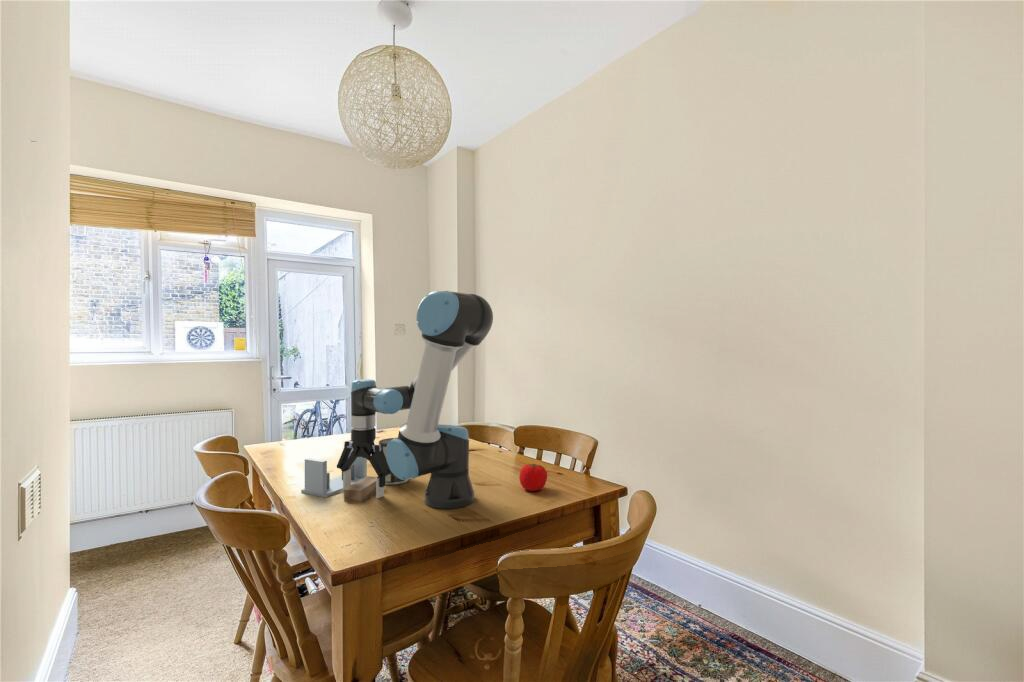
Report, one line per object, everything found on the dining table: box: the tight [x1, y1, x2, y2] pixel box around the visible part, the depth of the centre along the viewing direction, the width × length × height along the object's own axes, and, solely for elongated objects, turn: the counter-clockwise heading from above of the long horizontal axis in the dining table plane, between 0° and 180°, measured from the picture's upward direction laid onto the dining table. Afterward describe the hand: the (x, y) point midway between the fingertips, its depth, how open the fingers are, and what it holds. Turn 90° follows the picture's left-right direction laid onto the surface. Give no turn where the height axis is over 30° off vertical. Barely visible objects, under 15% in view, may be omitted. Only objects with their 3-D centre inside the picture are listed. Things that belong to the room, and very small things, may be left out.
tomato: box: [518, 463, 548, 492], centre depth 154 cm, size 9×10×8 cm
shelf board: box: [343, 475, 377, 503], centre depth 148 cm, size 6×14×4 cm, turn 169°
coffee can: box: [378, 437, 410, 486], centre depth 163 cm, size 10×10×14 cm
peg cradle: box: [300, 448, 368, 498], centre depth 156 cm, size 11×20×11 cm, turn 155°
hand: (363, 493), depth 148 cm, fingers open, 13 cm apart
